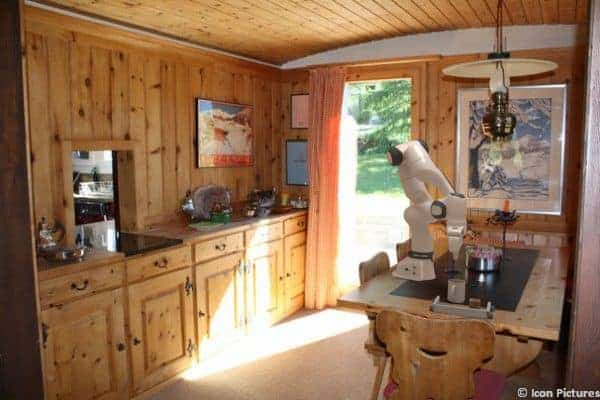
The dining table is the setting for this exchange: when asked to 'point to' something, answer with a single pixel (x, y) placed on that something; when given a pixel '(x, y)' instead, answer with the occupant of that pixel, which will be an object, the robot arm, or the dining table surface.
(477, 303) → the walnut block
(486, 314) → the cart frame
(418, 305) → the dining table surface
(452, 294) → the cup
